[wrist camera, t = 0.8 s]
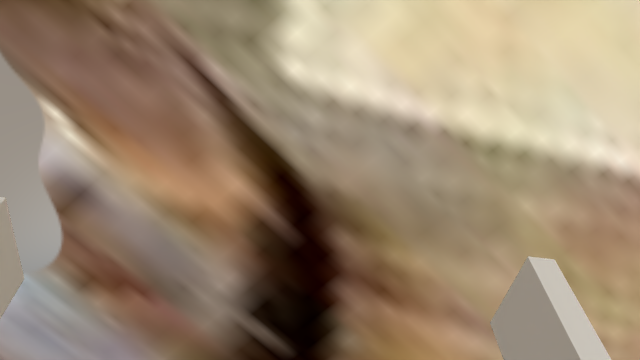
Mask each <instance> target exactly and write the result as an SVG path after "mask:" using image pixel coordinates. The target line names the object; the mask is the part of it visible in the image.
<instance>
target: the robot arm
mask: <svg viewBox="0 0 640 360" xmlns="http://www.w3.org/2000/svg"><path fill="white" fill-rule="evenodd" d="M23 280H24V275H23V271H22V266H21V262H20V258H19V254H18V249H17V245H16V241H15V237H14V232H13V228H12V223H11V219H10V215H9V210H8V206H7V202H6V198H5V197H0V318H1V317H2V315H3V313H4V312H5V310H6V308H7V307H8V305H9V303H10V302H11V300H12V298H13V297H14V295H15V293H16V292H17V290H18V288H19V287H20V285H21V283H22V282H23ZM490 324H491V327H492V329H493V332H494V335H495V337H496V340H497V343H498V345H499V348H500V351H501V354H502V356H503V359H504V360H611V358H610V356H609V355H608V353H607V351H606V349H605V348H604V346H603V344H602V342H601V341H600V339H599V337H598V335H597V334H596V332H595V330H594V328H593V326H592V325H591V323H590V321H589V319H588V318H587V316H586V314H585V312H584V311H583V309H582V307H581V305H580V304H579V302H578V300H577V298H576V297H575V295H574V293H573V291H572V290H571V288H570V286H569V284H568V282H567V281H566V279H565V277H564V275H563V274H562V272H561V270H560V268H559V267H558V265H557V263H556V261H555V260H554V259H545V258H536V257H527V259H526V261H525V262H524V264H523V266H522V268H521V269H520V271H519V273H518V275H517V276H516V278H515V280H514V282H513V283H512V285H511V287H510V289H509V290H508V292H507V294H506V296H505V297H504V299H503V301H502V303H501V304H500V306H499V308H498V310H497V311H496V313H495V315H494V317H493V318H492V320H491V322H490Z"/></svg>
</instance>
